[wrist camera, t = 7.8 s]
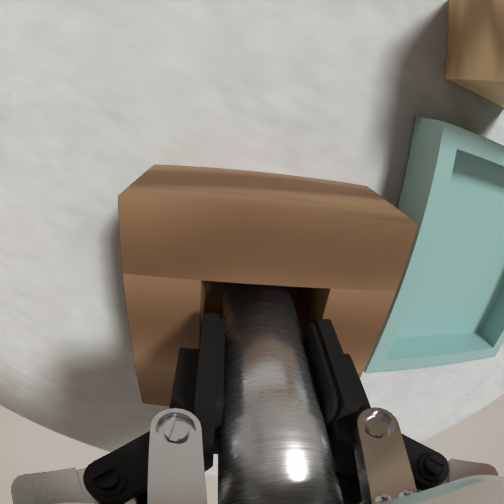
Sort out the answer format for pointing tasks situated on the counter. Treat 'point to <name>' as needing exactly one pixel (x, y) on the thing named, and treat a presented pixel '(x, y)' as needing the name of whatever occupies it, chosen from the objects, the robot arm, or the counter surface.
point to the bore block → (252, 257)
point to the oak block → (476, 47)
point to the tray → (448, 253)
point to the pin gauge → (270, 406)
